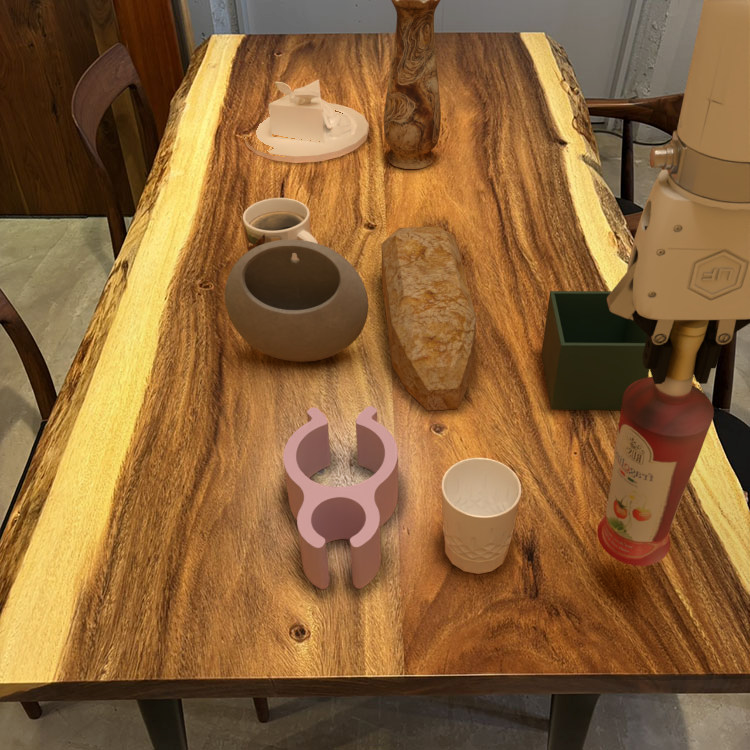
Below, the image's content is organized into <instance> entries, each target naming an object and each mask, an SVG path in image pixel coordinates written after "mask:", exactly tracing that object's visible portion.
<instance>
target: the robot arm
mask: <svg viewBox="0 0 750 750" xmlns="http://www.w3.org/2000/svg"><path fill="white" fill-rule="evenodd" d="M702 2H703V3H702V8H701V13H700V17H699V22H698V27H697V31H696V37H695V42H694V46H693V51H692V56H691V59H690V60H691V61H690V65H689V70H688V74H687V80H686V85H685V89H684V95H683V100H682V104H681V109H680V113H679V119H678V123H677V127H676V128H677V129H676V130H673V132H672V138H671V140H670V141H669V143H668V144H664V145H663V146H659V147H658V146H657V147H653V146H652V148H651V150H650V153H649V166H650V167H651V169H661V171H659V174H657V177H656V179H655V182H654V183H653V186H652V188H651V190H650V193H649V195H648V197H647V200H646V202H645V205H644V208H643V211H642V213H641V216H640V218H639V222H638V225H637V227H636V228H637V229H636V232H635V235H634V237H633V238H634V240H633V243H632V246H631V250H630V254H629V259H628V263H627V269H626V272H625V274H624V275H623V276H622V277H621V279H620V280H619V282H618V283H617V284H616V286H614V288H613V289H612V290H611V291H612V292H611V293H610V294H609V295H608V297H607V303H608V307H609V310H610V312H612V313H614V314H616V315H619V316H621V317H624V318H626V319H631V320H633V321H634V322H635V324H636V325H638V326H639V327H640V328H641V329H642V330H643V331H644V332H645V333H646V334H647V338H646V343H645V347H644V352H643V364H644V367H645V369H650V370H649V372H650V375H651V377H652V378H653V381H654V384H662V383H663V382H665V378H666V374H667V370H668V366H669V362H670V358H671V354H672V350H673V345H672V342H671V339H670V332H671V329H672V326H673V323H674V320H709V322H708V326H707V329H706V333H705V337H704V340H703V342H702V344H701V346H700V348H699V350H698V352H697V356H696V362H695V368H694V375H693V378H694V379H695V381H696V383H698V384H699V385H706V384H708V381H709V379H710V375H711V372H712V369H716V368H717V366H718V363H719V359H720V356H721V354H722V353H721V352H722V349H723V346H724V345H727V344H729V343H730V342H731V341H732V339H733V337H734V334H736V333H738V331H739V332H740V331H741V330H742V329H743V328H745V327H747V326H748V325H750V0H703V1H702Z"/></svg>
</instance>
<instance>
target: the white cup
mask: <svg viewBox="0 0 750 750" xmlns="http://www.w3.org/2000/svg"><path fill="white" fill-rule="evenodd" d="M521 495H522V484H521V481H520V478H519V477H518V474H516V472H515V471H514V470H512V468H510V467H509V466H508V465H506V464H504V463H503V462H501V461H498V460H496V459H492V458H488V457H470V458H465V459H462V460H460V461H457V462H455V463H454V464H453V465H451V466H450V467H449V468H448V469H447V470H446V472H445V473H444V475H443V476H442V479H441V517H442V518H441V519H442V533H443V536H444V552H445V553H444V554H445V555H446V556H447V558H448V560H449V562H451V564H452V565H453V566H455V567H456V568H457V569H460V570H461V571H462V572H465V573H470V574H475V575H480V574H486V573H491V572H494V571H495V570H496V569H498V568H500V566H502V565H503V564H504V562H505V560H506V558H507V556H508V554H509V548H510V544H511V542H512V538H513V534H514V529H515V527H516V526H515V525H516V521H517V515H518V512H519V506H520V501H521Z"/></svg>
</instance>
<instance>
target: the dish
mask: <svg viewBox="0 0 750 750" xmlns="http://www.w3.org/2000/svg"><path fill="white" fill-rule="evenodd" d="M274 84H275V86H276V88H277V89H278V91H279V92H281V93H282V94H284V96H282V97H280V98H278V99H276V100H274V101H272V102H270V103H268V109H269V114H270V117H268V118H267V119H266V120H264V121H263V122H262V123H260V124H259V126H258V128H257V130H256V135H257V138H258V139H259V140H260V141H261V142H263V143H264V144H266V145H269V146H271V147H273V148H274V149H272V148H271V149H272V150H270V149H269V150H270V151H268V150H267V151H268V152H269V153H271V154H274V155H280V156H285V157H280V156H272V155H270V154H267V153H264V152H261V151H258V150H255V149H254V148H253V147H252V146H250V145H249V144H248V143H247V142H246V141H245V138H244V135H243V134H242V136H243V140H244V144H245V147H246V148H247V149H249V150H250V151H251V152H252V153H253V154H255V155H256V156H259V157H262V158H265V159H268V160H270V161H275V162H283V163H292V164H300V163H319V162H324V161H327V160H332V159H336V158H341V157H342V156H345V155H347V154H349V153H352V152H354V151H356V150H358V149H359V148H360V147H361V146H362V145H363V144H364V143H365V142H366V141H367V139H368V135H369V131H370V127H369V125H370V124H369V123H368V121H367V119H366V117H365V115H364V114H362V113H360V112H359V111H357V110H355V109H354V108H352V107H349V106H345V105H343V104H338V103H334V102H333V103H332V102H328V101H326V100H324V99H323V98H322V95H321V87H320V85H321V84H320V79H316V80H314V81H312V82H310V83H308V84H307V85H306V84H305V85H304V86H302V87H298V88H294V89H293V90H292V88H291V87H290V85H289V84H287V83H285V82H283V81H275V82H274ZM335 110H336V111H339V112H341V113H339V112H335ZM342 113H343V114H342ZM272 134H274V135H279V136H283V137H288V138H282V137H273V136H272ZM291 138H295V139H291ZM301 139H302V140H301ZM310 140H311V141H310ZM319 141H320V142H319ZM289 157H291V158H289Z"/></svg>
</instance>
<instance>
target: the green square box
mask: <svg viewBox="0 0 750 750" xmlns="http://www.w3.org/2000/svg"><path fill="white" fill-rule="evenodd" d="M611 292H612V290H550V291H549V297H548V303H547V311H546V318H545V324H544V332H543V339H542V346H541V354H540V355H541V361H542V365H543V367H542V368H543V372H544V377H545V378H544V379H545V383H546V388H547V395H548V400H549V401H548V402H549V407H550V410H552V411H553V410H554V411H555V410H556V411H558V410H559V411H621V406H622V399H623V394H624V392H625V390H626V389H627V388H628V387H629V386H630V385H631V384H632V383H634V382H635V381H638V380H640V379H643V378H648V377H649V373H650V369H645V367H644V364H643V352H644V347H645V343H646V338H647V334H646V333H645V332H644V331H643V330H642V329H641V328H640V327H639V326H638V325H636V324H635V322H634V321H633V320H631V319H626V318H624V317H621V316H619V315H616V314H614V313H612V312H610V310H609V307H608V303H607V297H608V295H609V294H610V293H611Z"/></svg>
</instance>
